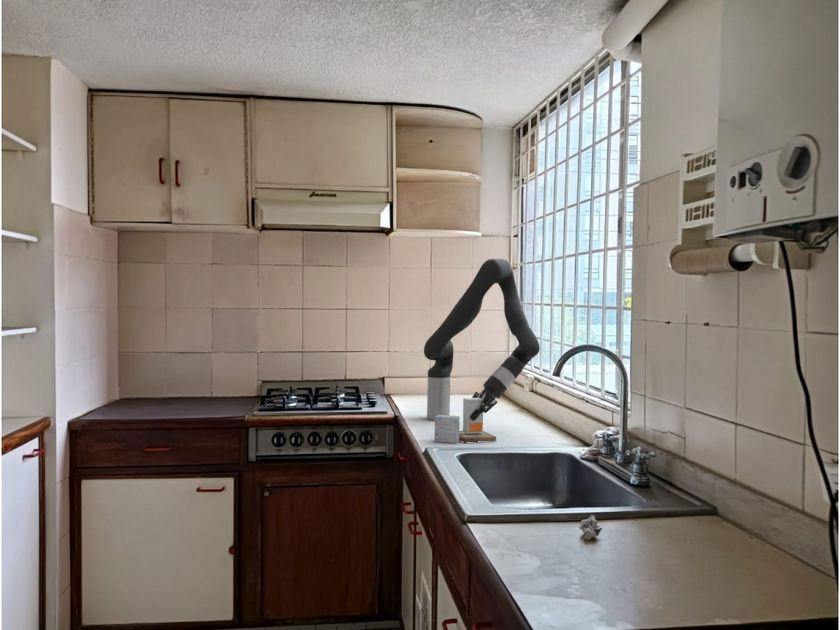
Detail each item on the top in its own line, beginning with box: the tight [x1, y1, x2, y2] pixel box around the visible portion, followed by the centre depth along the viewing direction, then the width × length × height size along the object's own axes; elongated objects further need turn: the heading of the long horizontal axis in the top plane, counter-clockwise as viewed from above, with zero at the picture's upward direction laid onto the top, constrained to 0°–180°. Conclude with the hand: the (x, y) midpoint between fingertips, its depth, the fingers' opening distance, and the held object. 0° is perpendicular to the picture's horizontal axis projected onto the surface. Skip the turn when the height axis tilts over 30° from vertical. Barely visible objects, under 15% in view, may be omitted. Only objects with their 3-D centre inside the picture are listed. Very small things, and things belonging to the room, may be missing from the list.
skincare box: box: [462, 397, 484, 434], centre depth 215 cm, size 6×4×12 cm
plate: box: [459, 430, 497, 444], centre depth 215 cm, size 12×12×2 cm
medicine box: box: [433, 414, 461, 444], centre depth 210 cm, size 8×4×9 cm, turn 74°
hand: (468, 417), depth 215 cm, fingers closed on skincare box, 4 cm apart
